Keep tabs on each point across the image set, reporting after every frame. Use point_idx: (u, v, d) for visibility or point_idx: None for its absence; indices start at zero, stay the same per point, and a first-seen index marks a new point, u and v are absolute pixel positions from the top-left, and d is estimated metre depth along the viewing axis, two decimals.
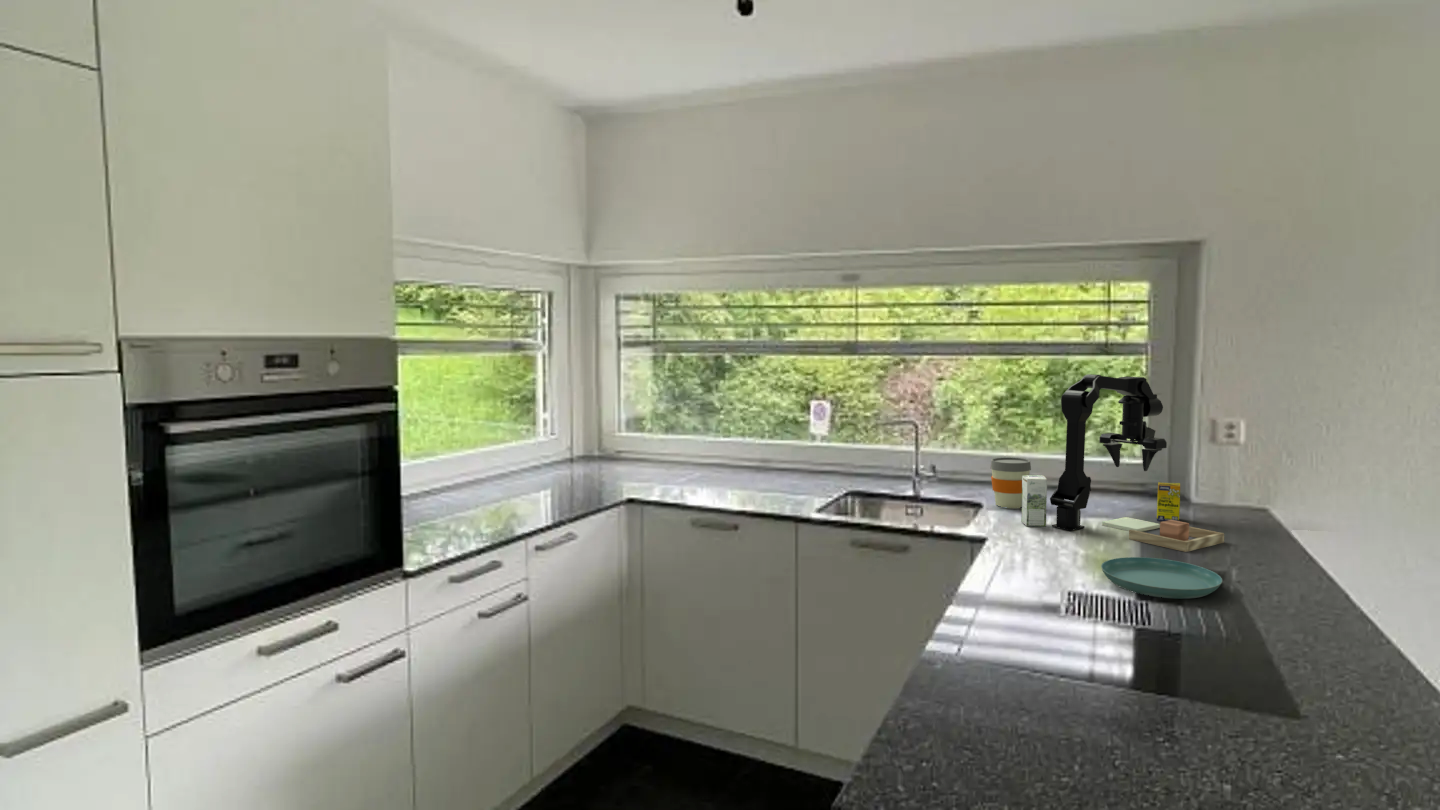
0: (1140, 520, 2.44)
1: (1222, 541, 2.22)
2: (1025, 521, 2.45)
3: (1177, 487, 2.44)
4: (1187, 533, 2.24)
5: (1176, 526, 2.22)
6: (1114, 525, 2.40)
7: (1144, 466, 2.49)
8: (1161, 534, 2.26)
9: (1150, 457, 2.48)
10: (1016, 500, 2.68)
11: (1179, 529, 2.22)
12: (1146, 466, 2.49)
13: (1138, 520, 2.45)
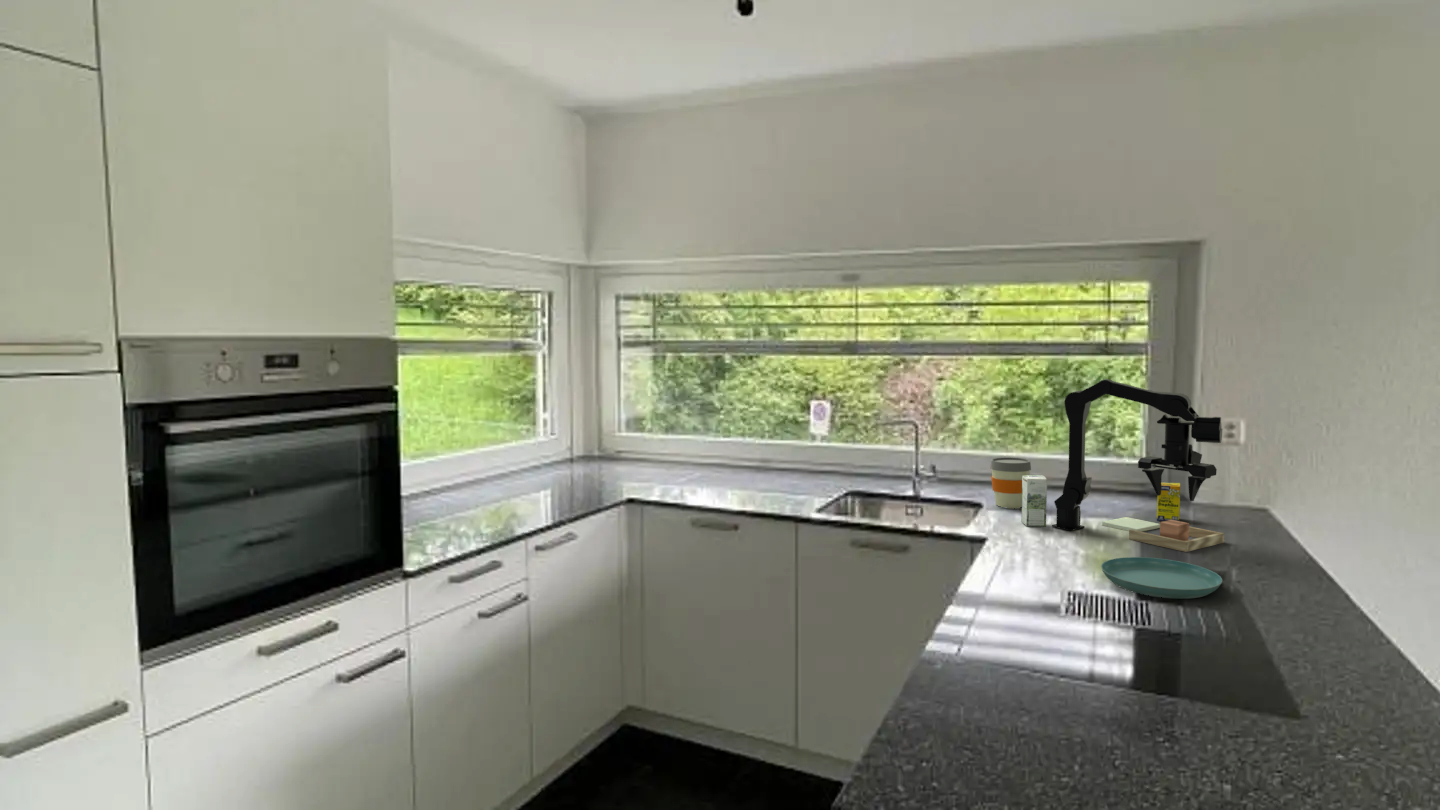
0: (1140, 520, 2.44)
1: (1222, 541, 2.22)
2: (1025, 521, 2.45)
3: (1177, 487, 2.44)
4: (1187, 533, 2.24)
5: (1176, 526, 2.22)
6: (1114, 525, 2.40)
7: (1190, 495, 2.20)
8: (1161, 534, 2.26)
9: (1197, 485, 2.19)
10: (1016, 500, 2.68)
11: (1179, 529, 2.22)
12: (1193, 495, 2.20)
13: (1138, 520, 2.45)
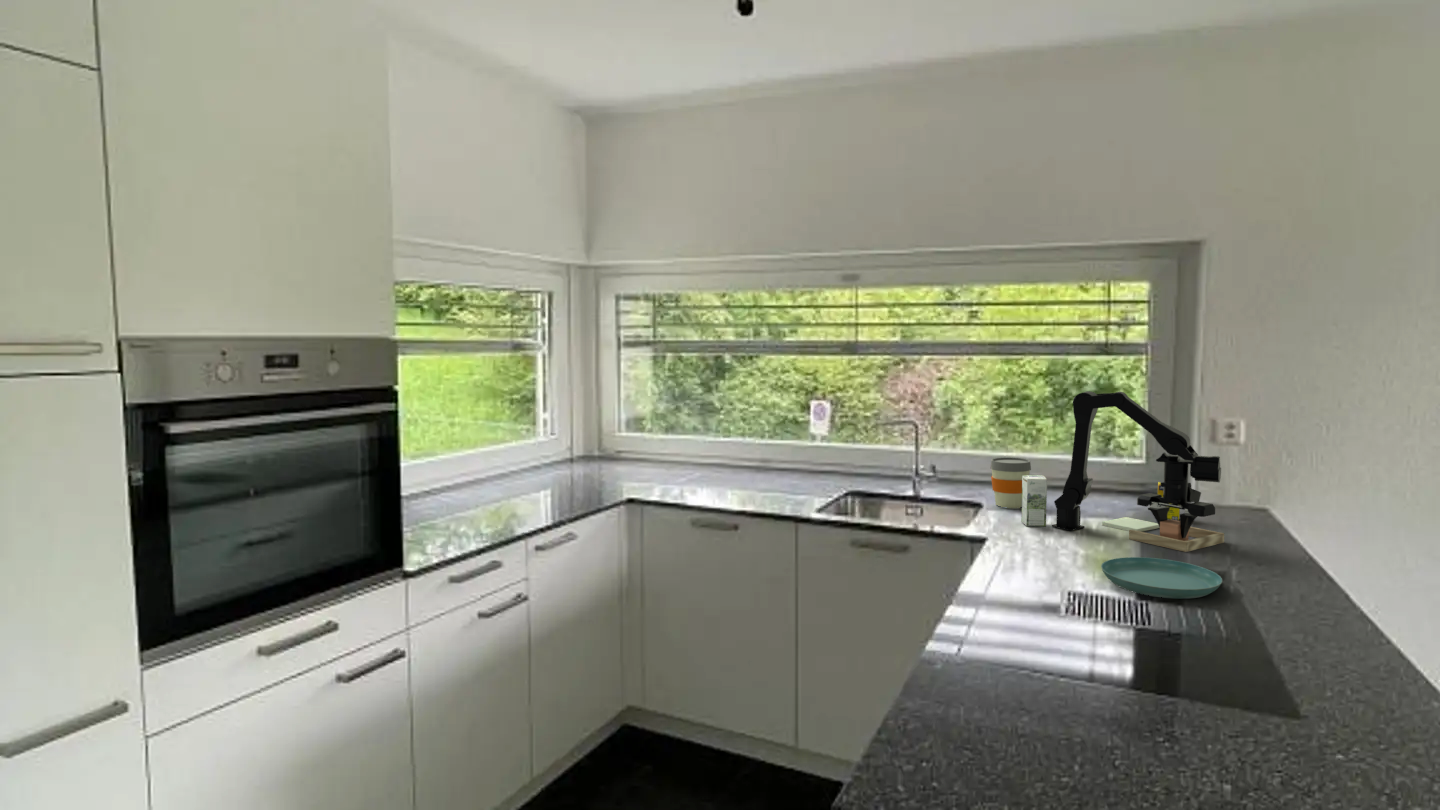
0: (1140, 520, 2.44)
1: (1222, 541, 2.22)
2: (1025, 521, 2.45)
3: None
4: (1187, 533, 2.24)
5: (1176, 526, 2.22)
6: (1114, 525, 2.40)
7: (1182, 533, 2.22)
8: (1161, 534, 2.26)
9: (1189, 523, 2.22)
10: (1016, 500, 2.68)
11: (1179, 528, 2.22)
12: (1184, 533, 2.22)
13: (1138, 520, 2.45)
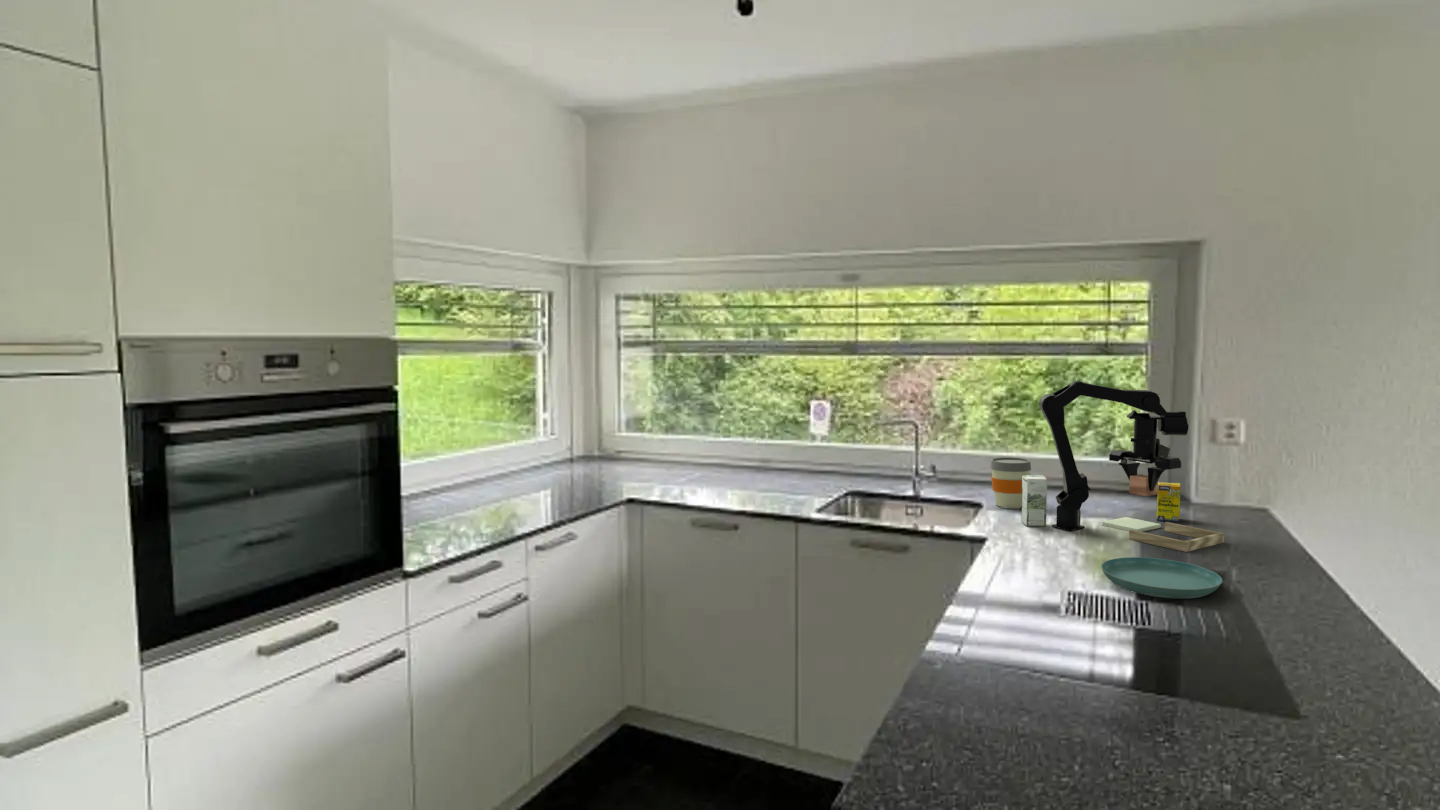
0: (1140, 520, 2.44)
1: (1222, 541, 2.22)
2: (1025, 521, 2.45)
3: (1177, 487, 2.44)
4: (1155, 486, 2.35)
5: (1144, 479, 2.33)
6: (1114, 525, 2.40)
7: (1150, 486, 2.33)
8: (1131, 487, 2.37)
9: (1157, 476, 2.33)
10: (1016, 500, 2.68)
11: (1147, 481, 2.33)
12: (1152, 486, 2.33)
13: (1138, 520, 2.45)
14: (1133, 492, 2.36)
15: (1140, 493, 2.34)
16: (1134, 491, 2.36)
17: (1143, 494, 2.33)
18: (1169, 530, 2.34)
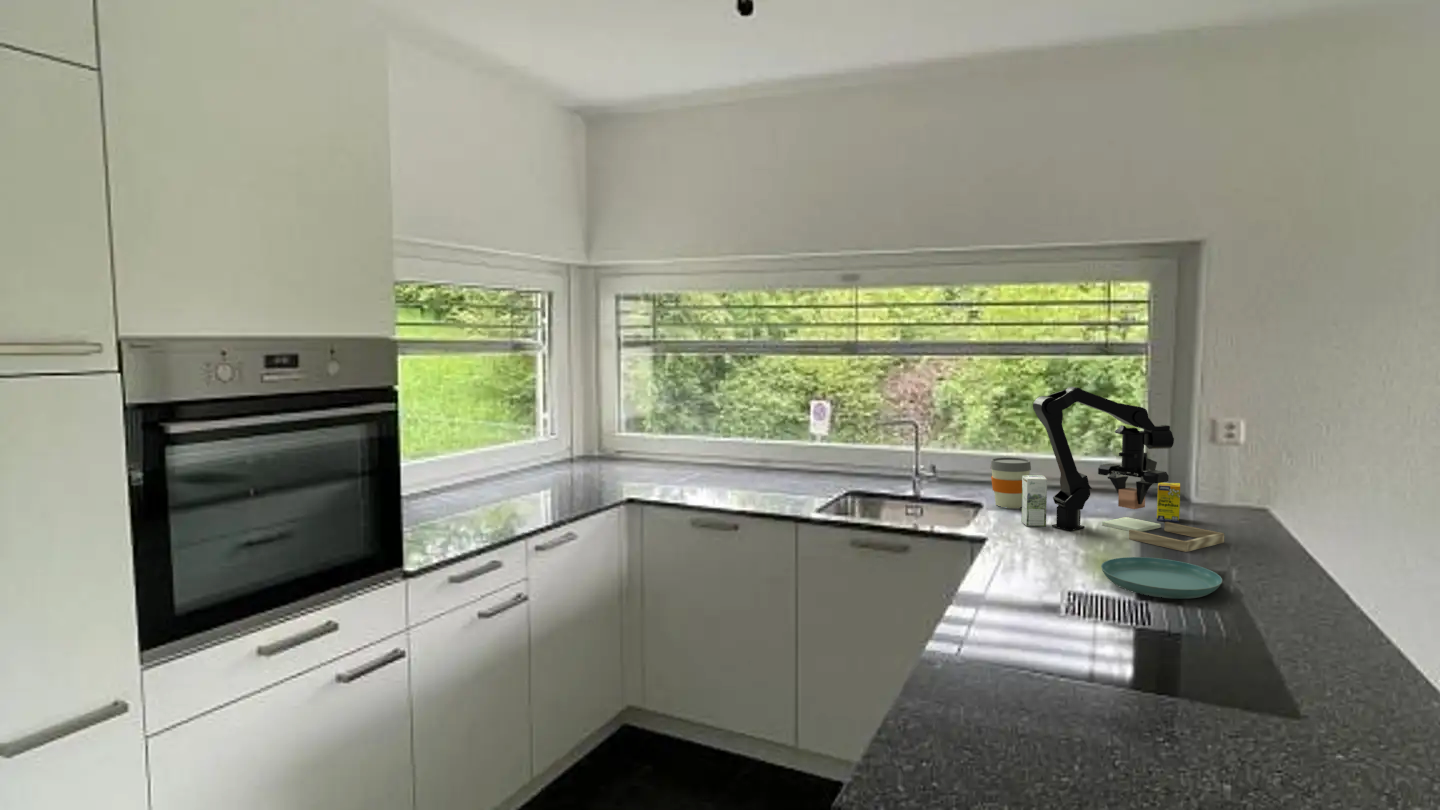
0: (1140, 520, 2.44)
1: (1222, 541, 2.22)
2: (1025, 521, 2.45)
3: (1177, 487, 2.44)
4: None
5: (1133, 492, 2.38)
6: (1114, 525, 2.40)
7: (1138, 499, 2.38)
8: (1119, 500, 2.42)
9: (1145, 490, 2.38)
10: (1016, 500, 2.68)
11: (1135, 495, 2.38)
12: (1141, 499, 2.38)
13: (1138, 520, 2.45)
14: (1122, 505, 2.41)
15: (1129, 506, 2.39)
16: (1123, 504, 2.41)
17: (1132, 507, 2.38)
18: (1169, 530, 2.34)
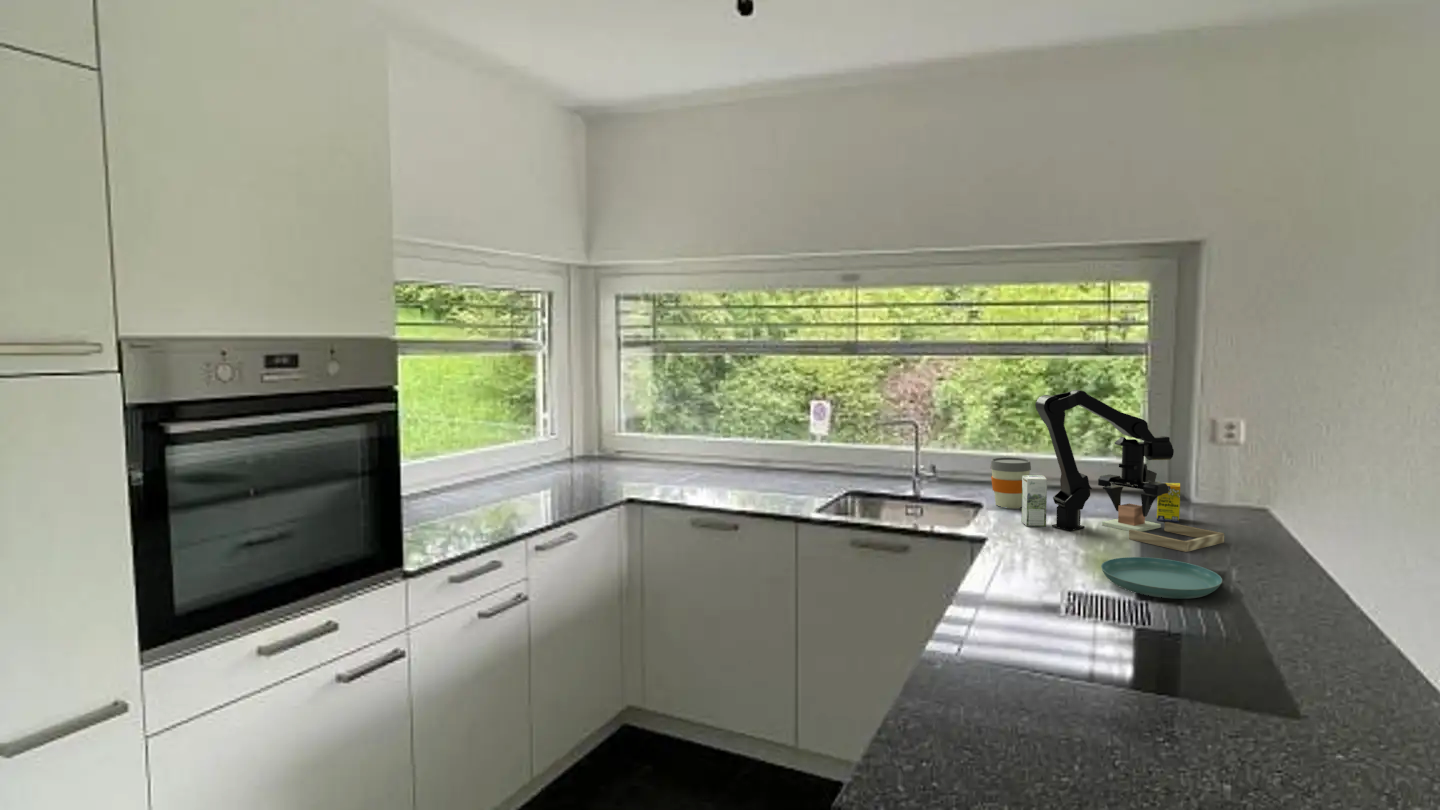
0: None
1: (1222, 541, 2.22)
2: (1025, 521, 2.45)
3: (1177, 487, 2.44)
4: None
5: (1133, 509, 2.38)
6: (1114, 525, 2.40)
7: (1143, 511, 2.37)
8: (1119, 517, 2.42)
9: (1150, 502, 2.37)
10: (1016, 500, 2.68)
11: (1135, 511, 2.38)
12: (1146, 511, 2.37)
13: None
14: (1122, 521, 2.42)
15: (1129, 522, 2.40)
16: (1123, 521, 2.41)
17: (1132, 524, 2.39)
18: (1169, 530, 2.34)
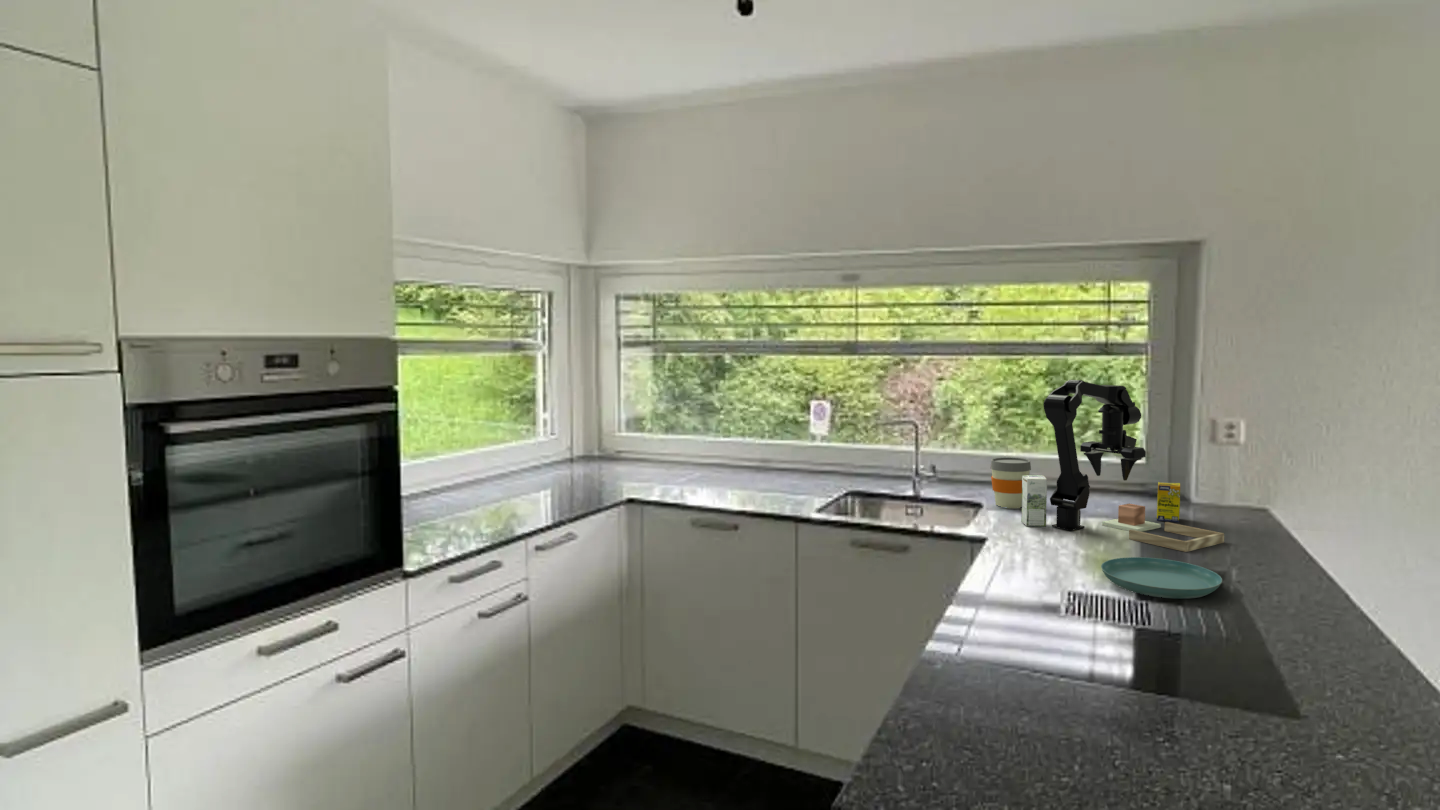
0: None
1: (1222, 541, 2.22)
2: (1025, 521, 2.45)
3: (1177, 487, 2.44)
4: (1143, 515, 2.40)
5: (1133, 509, 2.38)
6: (1114, 525, 2.40)
7: (1123, 475, 2.47)
8: (1119, 517, 2.42)
9: (1129, 466, 2.46)
10: (1016, 500, 2.68)
11: (1135, 511, 2.38)
12: (1125, 475, 2.47)
13: None
14: (1122, 521, 2.42)
15: (1129, 522, 2.40)
16: (1123, 521, 2.41)
17: (1132, 524, 2.39)
18: (1169, 530, 2.34)
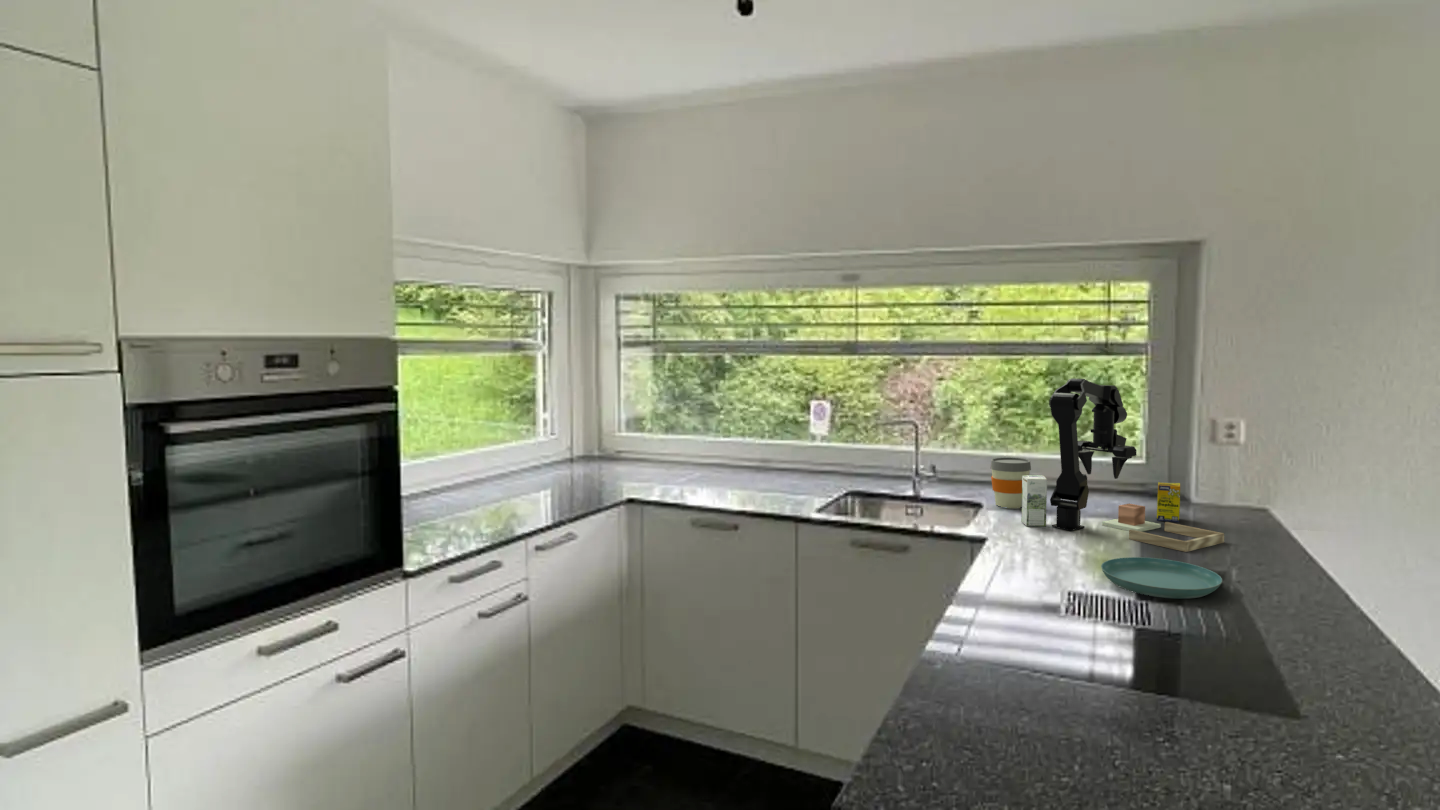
0: None
1: (1222, 541, 2.22)
2: (1025, 521, 2.45)
3: (1177, 487, 2.44)
4: (1143, 515, 2.40)
5: (1133, 509, 2.38)
6: (1114, 525, 2.40)
7: (1114, 474, 2.51)
8: (1119, 517, 2.42)
9: (1120, 465, 2.51)
10: (1016, 500, 2.68)
11: (1135, 511, 2.38)
12: (1116, 474, 2.51)
13: None
14: (1122, 521, 2.42)
15: (1129, 522, 2.40)
16: (1123, 521, 2.41)
17: (1132, 524, 2.39)
18: (1169, 530, 2.34)
